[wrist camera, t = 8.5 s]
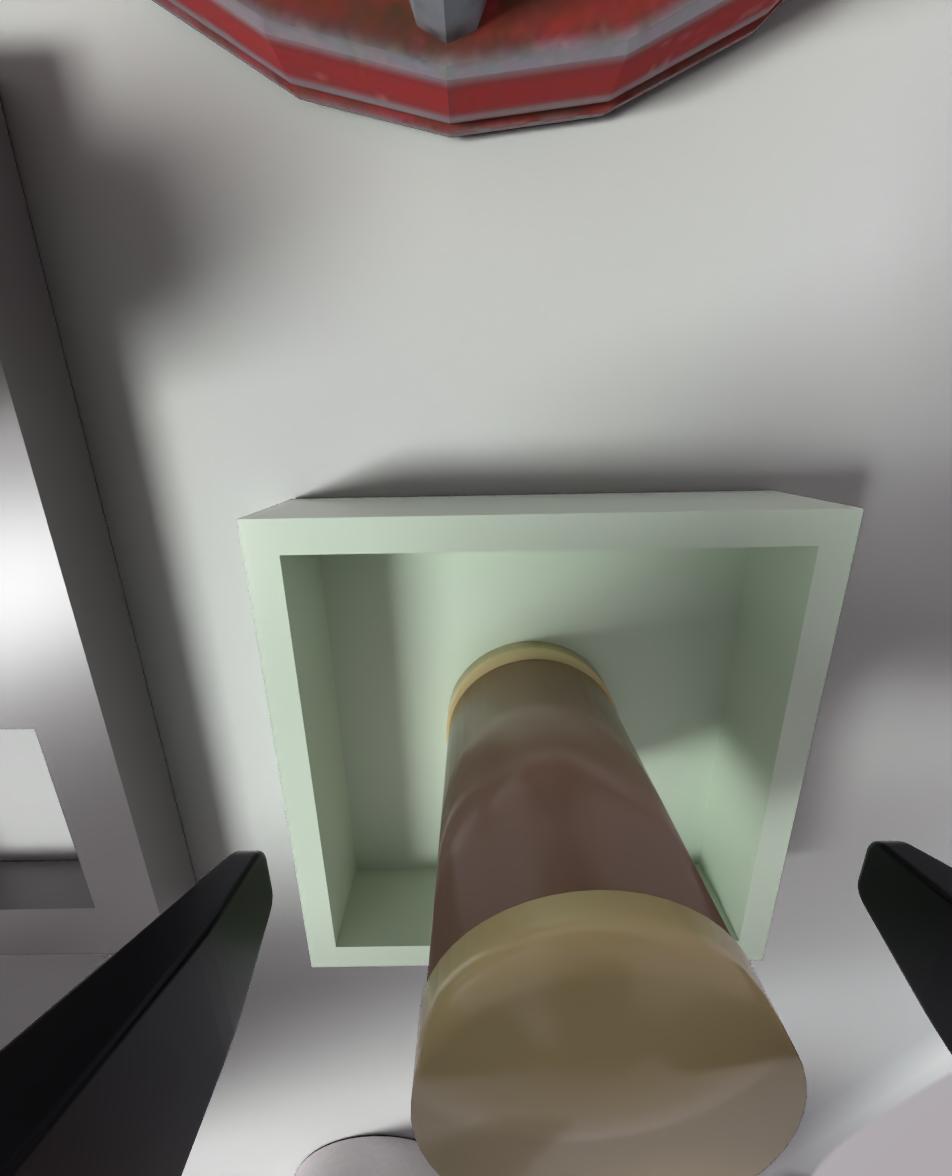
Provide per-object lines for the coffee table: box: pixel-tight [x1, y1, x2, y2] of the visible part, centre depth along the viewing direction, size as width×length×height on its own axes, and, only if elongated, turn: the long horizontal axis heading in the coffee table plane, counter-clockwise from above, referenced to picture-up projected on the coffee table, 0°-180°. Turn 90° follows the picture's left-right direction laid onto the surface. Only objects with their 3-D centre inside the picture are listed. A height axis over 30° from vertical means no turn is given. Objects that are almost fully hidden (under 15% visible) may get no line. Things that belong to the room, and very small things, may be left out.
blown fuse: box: [411, 641, 807, 1176], centre depth 8 cm, size 4×4×7 cm
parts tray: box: [237, 490, 864, 967], centre depth 10 cm, size 10×10×2 cm
